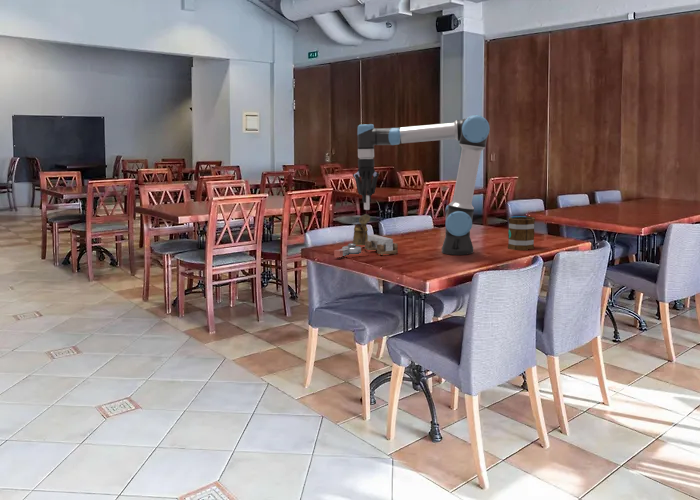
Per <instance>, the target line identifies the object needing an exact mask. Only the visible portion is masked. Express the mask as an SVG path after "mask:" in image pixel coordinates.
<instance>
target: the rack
mask: <svg viewBox="0 0 700 500" xmlns="http://www.w3.org/2000/svg"><path fill="white" fill-rule="evenodd" d="M398 244H399V243H395V242H393V251H384V245H381V244H377V249H376V248H372V246H371V242H370V241H365V247H364V250H365V249H367V250H377V251H376V254H377V253H378V254H381V255H383V254H394V255H397V254H396V253H398V251H399V248H398ZM398 254H399V253H398Z"/></svg>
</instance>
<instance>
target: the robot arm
mask: <svg viewBox="0 0 700 500" xmlns="http://www.w3.org/2000/svg"><path fill="white" fill-rule="evenodd" d="M490 128H491V127H490V122H488V120H487V118H485V117H483V116H482V115H476V114H473V115H469V116H468V117H466V118H462V119H456V120H455V121H454V122H446V123H434V124H423V125H409V126H402V127H385V128H384V127H383V128H376V127H375V125H374V124H372V123H369V124H359V125H357V133H356V135H357V158H358V159H357V167H358V169H357V172H356V173H353V174H352V176H353V178H354V181H355V185H356V189H357V194H358V195H360V196H362V197H361V199H362V203H363V210H365V211H369V210H370V207H371V206H370V203H371V202H372V196H373V195H374V194H375V192H376V189H377V183H378V178H379V177H380V173H378V172H377V171H376V169H375V146H395V145H397V146H398V145H400V144H410V143H420V142H421V143H423V142H431V141H432V142H434V141H446V140H456V141H457V142H459V143H458V145H459V146H460V147H461V151H460V156H459V157H460V158H459V164H458V169H457V174H456V180H455V185H454V186H455V187H454V192H453V198H452V201H451V202H450V203H448V205H446V207H445V211H444V212H445V237H444V240H443V243H442V247H441V253H442V254H446V255H453V256H464V255H471V254H473V253H474V245H473V242H472V239H471V230H472V228H473V216H474V212H475V207H474V206H473V197H474V192H475V187H476V182H477V175H478V171H479V167H480V166H479V164H480V159H481V154H482V151H483V150H485V149H486V146H487V140H488V136H489V135H490Z"/></svg>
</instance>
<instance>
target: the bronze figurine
mask: <svg viewBox="0 0 700 500" xmlns="http://www.w3.org/2000/svg"><path fill="white" fill-rule="evenodd" d="M370 220H371V215H369V214H368V213H364V214H362V215H361V216H360V217H359V218H358V223H356V224H354V227H353V239H352V243H355V244H356V245H365V241H368V235H369V234H368V232H369V231H368V230H369V229H368V227H367V224H368V223H369V222H370Z"/></svg>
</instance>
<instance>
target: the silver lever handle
mask: <svg viewBox="0 0 700 500" xmlns="http://www.w3.org/2000/svg"><path fill="white" fill-rule="evenodd" d="M361 252H362V248H361V247H360V246H356V244H355V243H353V242H351V243H348V244H347V245H345V246H342V248H340V249H335V250H333V253H334V254H333V256H334V258H337V257H342V256H346V255H349V254H359V253H361ZM342 258H343V257H342ZM337 259H338V258H337Z"/></svg>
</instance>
